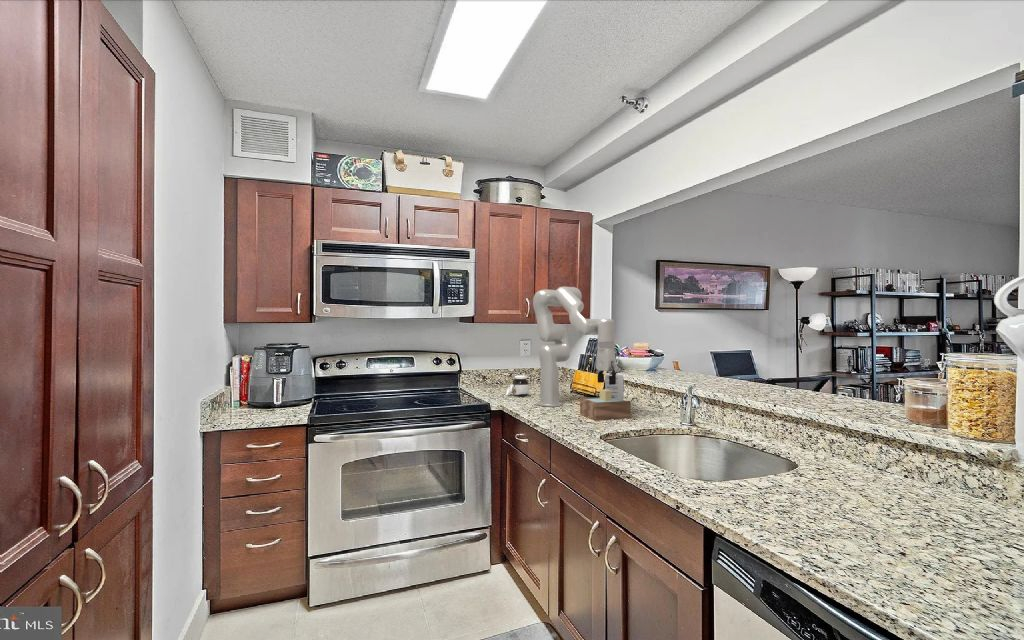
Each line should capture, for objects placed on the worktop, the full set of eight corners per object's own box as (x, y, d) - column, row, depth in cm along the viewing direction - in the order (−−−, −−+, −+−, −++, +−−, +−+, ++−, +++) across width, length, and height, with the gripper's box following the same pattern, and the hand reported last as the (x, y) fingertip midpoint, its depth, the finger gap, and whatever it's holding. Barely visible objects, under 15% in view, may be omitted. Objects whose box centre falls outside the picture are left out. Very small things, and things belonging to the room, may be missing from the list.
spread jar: (530, 396, 276) (530, 376, 276) (514, 398, 270) (514, 377, 270) (518, 393, 286) (519, 374, 286) (503, 395, 279) (503, 375, 280)
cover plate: (584, 402, 220) (584, 389, 221) (613, 400, 226) (613, 388, 226) (596, 406, 210) (597, 392, 210) (627, 404, 215) (627, 391, 215)
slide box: (580, 414, 221) (580, 398, 221) (613, 412, 227) (613, 396, 228) (595, 420, 208) (595, 402, 208) (630, 418, 214) (630, 400, 214)
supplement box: (623, 408, 239) (623, 375, 240) (604, 407, 241) (605, 374, 241) (622, 405, 249) (623, 373, 249) (604, 404, 251) (605, 372, 251)
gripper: (589, 345, 225) (589, 382, 224) (609, 346, 209) (609, 385, 208) (603, 345, 227) (603, 381, 227) (624, 346, 211) (624, 385, 211)
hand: (606, 383), depth 218 cm, fingers open, 9 cm apart
